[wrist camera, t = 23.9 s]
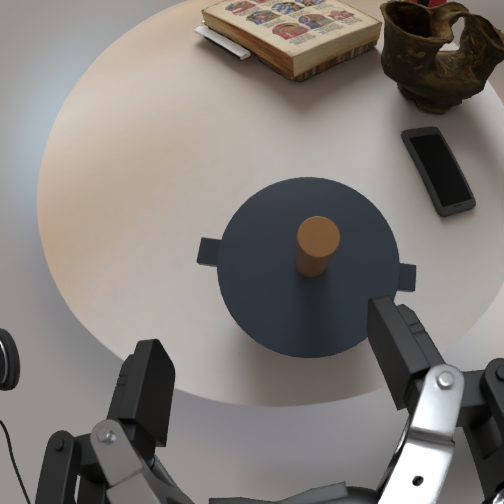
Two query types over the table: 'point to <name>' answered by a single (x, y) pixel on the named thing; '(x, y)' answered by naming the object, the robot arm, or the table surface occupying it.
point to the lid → (306, 266)
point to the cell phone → (439, 170)
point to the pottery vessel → (438, 53)
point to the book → (290, 33)
